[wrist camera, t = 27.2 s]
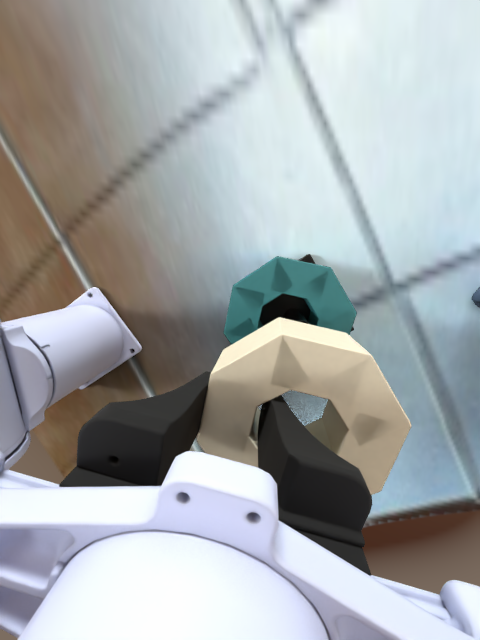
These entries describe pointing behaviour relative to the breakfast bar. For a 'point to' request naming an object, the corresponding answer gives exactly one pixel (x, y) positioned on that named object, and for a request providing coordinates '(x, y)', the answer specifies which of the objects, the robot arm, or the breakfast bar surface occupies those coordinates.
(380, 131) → the breakfast bar surface
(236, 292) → the teal ring
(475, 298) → the vaping device
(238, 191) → the breakfast bar surface
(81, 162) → the breakfast bar surface
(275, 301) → the peg stand
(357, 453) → the cream ring
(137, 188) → the breakfast bar surface
